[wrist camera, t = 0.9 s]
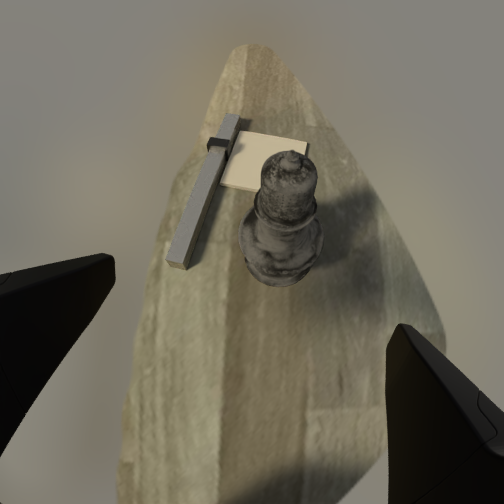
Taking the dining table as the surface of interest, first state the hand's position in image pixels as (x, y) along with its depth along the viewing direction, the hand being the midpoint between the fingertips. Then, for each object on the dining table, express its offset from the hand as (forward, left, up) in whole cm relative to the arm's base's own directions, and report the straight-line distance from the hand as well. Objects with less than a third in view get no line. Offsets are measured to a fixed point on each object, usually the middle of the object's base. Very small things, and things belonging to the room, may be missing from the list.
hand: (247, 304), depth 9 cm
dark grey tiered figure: (+8, 0, -14) cm, 16 cm away
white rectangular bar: (+13, +7, -14) cm, 20 cm away
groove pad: (+16, +3, -14) cm, 22 cm away
